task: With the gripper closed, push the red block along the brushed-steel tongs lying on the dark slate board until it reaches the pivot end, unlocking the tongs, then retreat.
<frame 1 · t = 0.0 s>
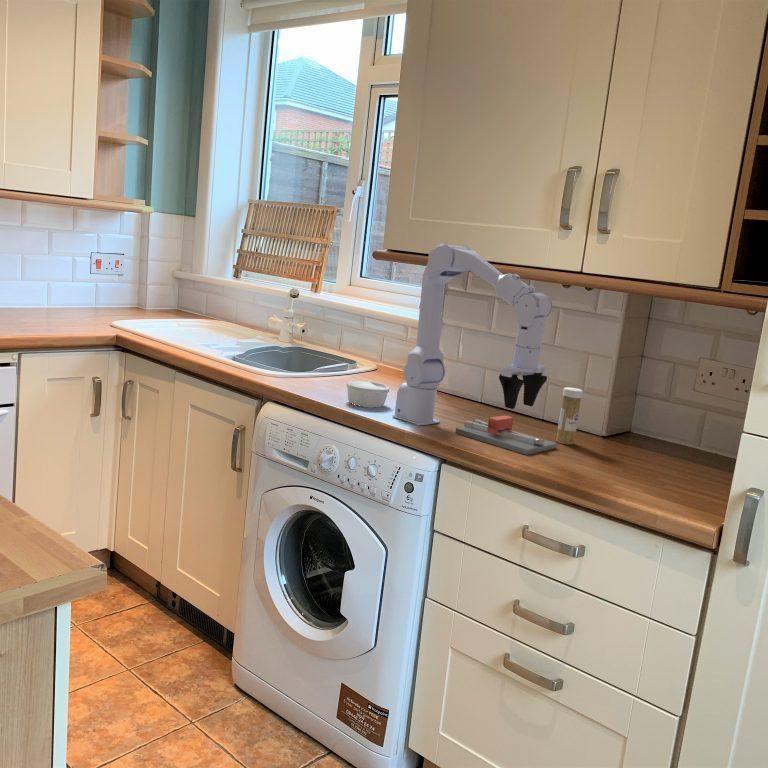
hand: (519, 406, 181), 10 cm above the worktop, fingers open, 7 cm apart
red block: (500, 424, 192), point 3 cm above the worktop, slide at 0.0 cm
sprinkles bottle: (564, 443, 197), on the worktop
ramekin: (366, 405, 214), on the worktop
slate board: (505, 440, 191), on the worktop
tongs: (505, 432, 191), on the slate board, point 1 cm above the worktop
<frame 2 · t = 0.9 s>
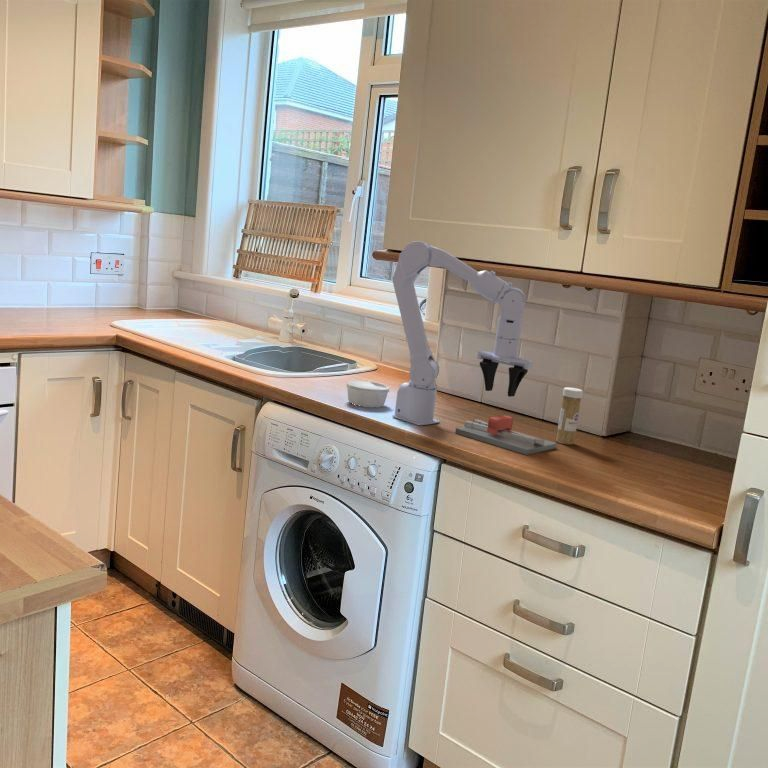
hand: (499, 393, 196), 10 cm above the worktop, fingers open, 6 cm apart
nothing on the worktop moved.
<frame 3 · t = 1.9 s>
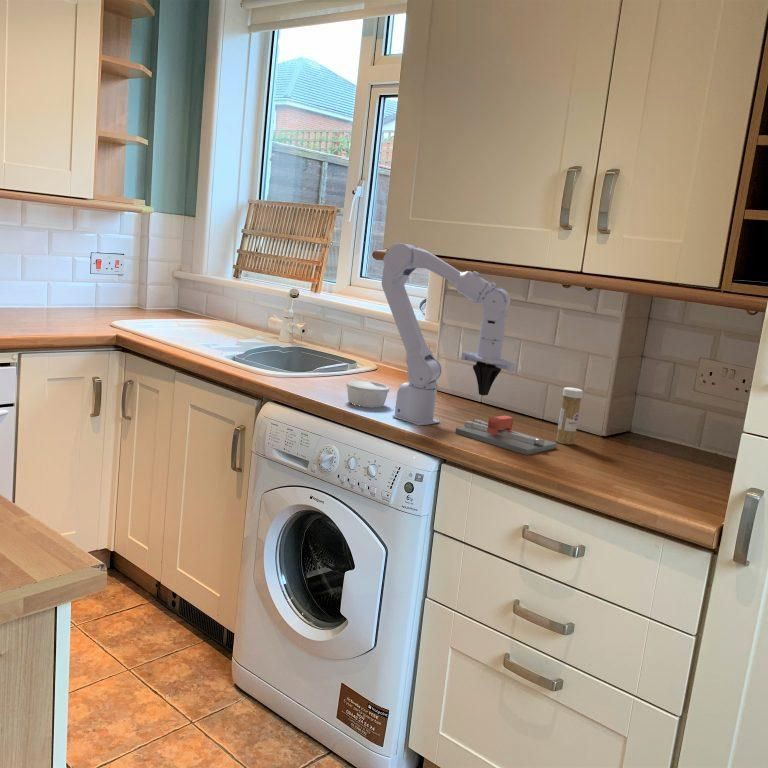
hand: (483, 394, 195), 9 cm above the worktop, fingers closed
nothing on the worktop moved.
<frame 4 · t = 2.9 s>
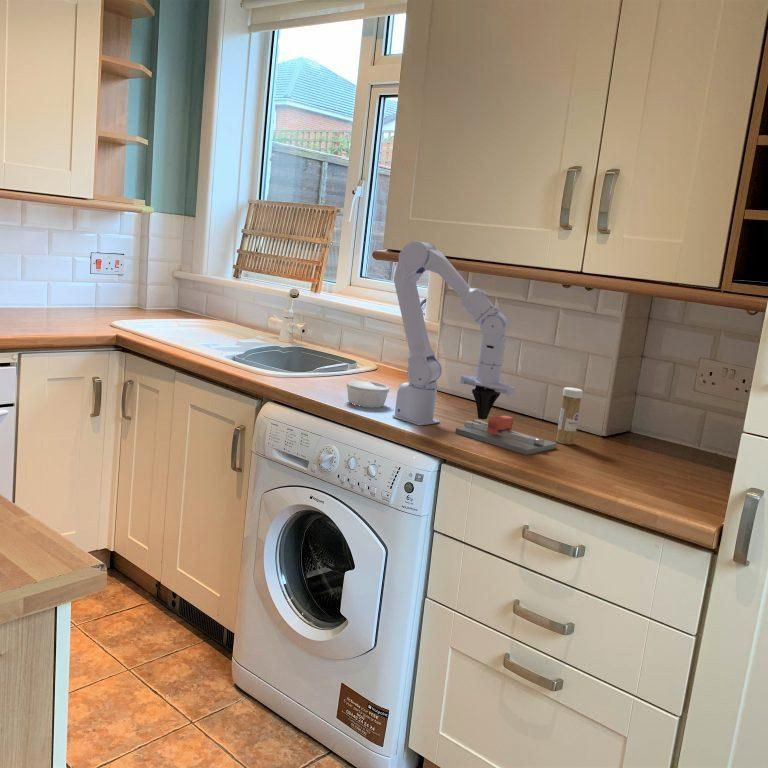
hand: (482, 418, 195), 4 cm above the worktop, fingers closed
nothing on the worktop moved.
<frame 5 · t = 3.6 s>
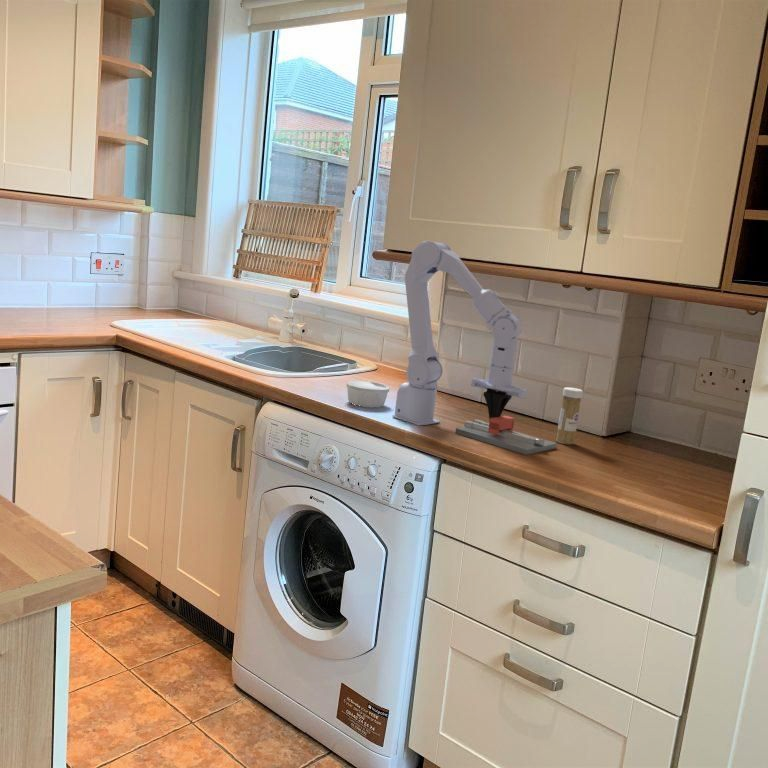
hand: (493, 421, 193), 4 cm above the worktop, fingers closed
red block: (501, 425, 192), point 3 cm above the worktop, slide at 0.3 cm, touching gripper
everything else where it was.
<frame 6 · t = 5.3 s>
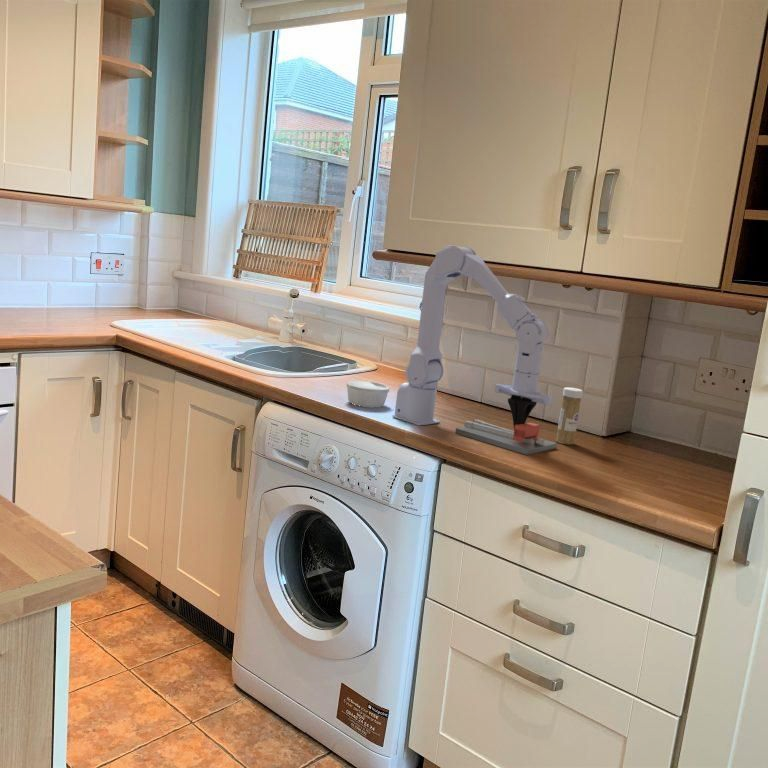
hand: (518, 428, 189), 4 cm above the worktop, fingers closed
red block: (526, 432, 187), point 3 cm above the worktop, slide at 7.3 cm, touching gripper
everything else where it was.
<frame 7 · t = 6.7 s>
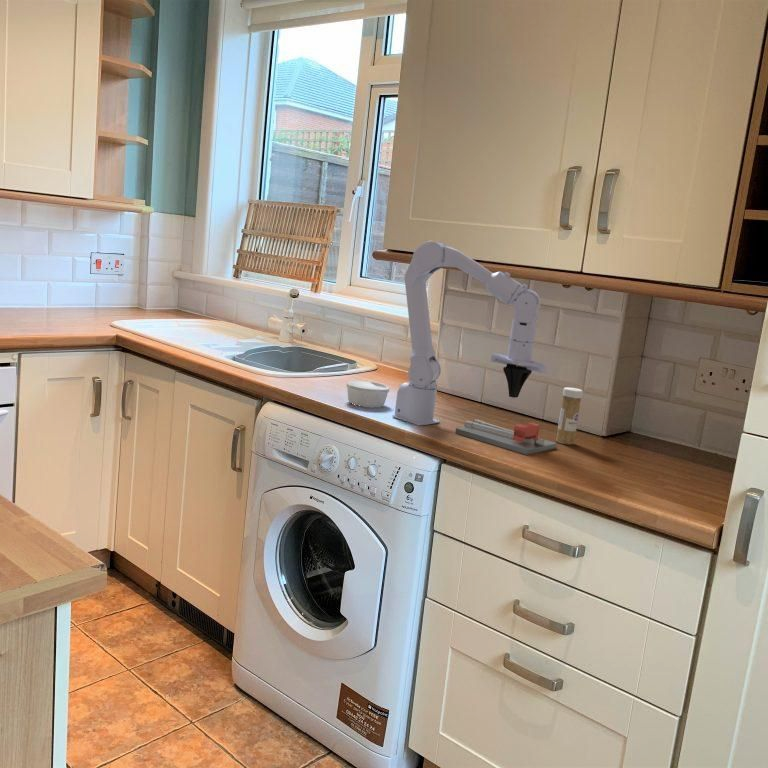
hand: (513, 396, 194), 10 cm above the worktop, fingers closed
red block: (526, 432, 187), point 3 cm above the worktop, slide at 7.3 cm
everything else where it was.
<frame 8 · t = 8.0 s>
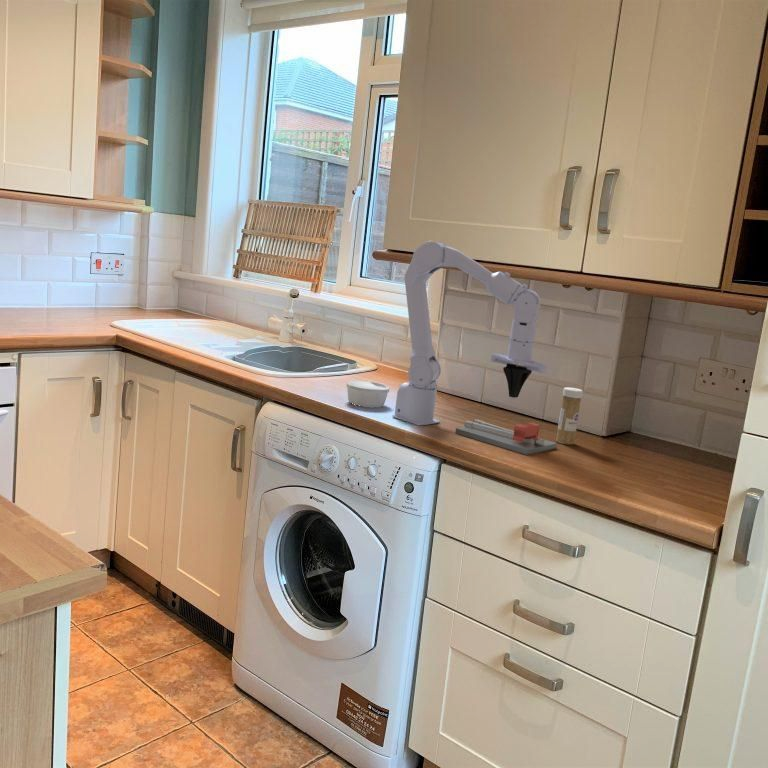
hand: (513, 396, 194), 10 cm above the worktop, fingers closed
nothing on the worktop moved.
at the end: red block slide at 7.3 cm; red block 0.1 cm from the target spot, resting on slate board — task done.
